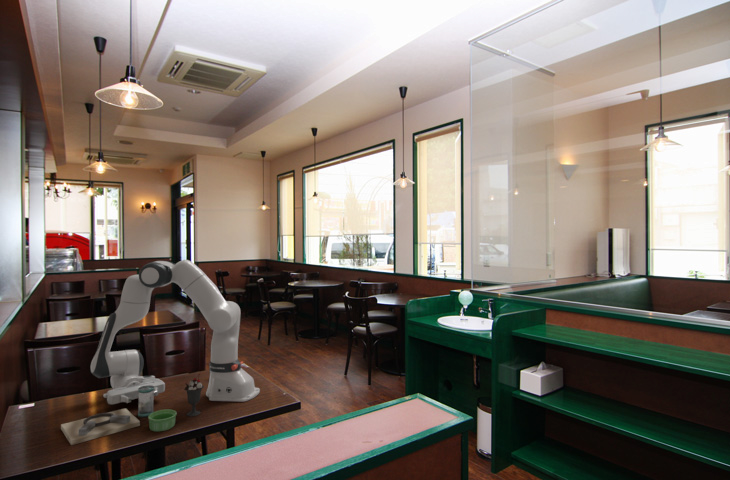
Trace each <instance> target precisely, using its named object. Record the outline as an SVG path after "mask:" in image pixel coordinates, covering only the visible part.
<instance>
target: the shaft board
mask: <svg viewBox="0 0 730 480" xmlns="http://www.w3.org/2000/svg"><path fill="white" fill-rule="evenodd" d="M140 426H141V421H140V420H139V419H138V418H137V417H136V416H134V414H132V413H131V411H129V410H128V408H121V409H117V410H112V411H109V412H101V413H97V414H92V415H89V416H88V417H85V418H81V419H77V420H73V421H69V422H66V423H62V424H60V430H61V431H62V433H63V434H64V436H65V438H66V440H67V441H68V442H69V444H70V446H75V445H77V444H81V443H85V442H87V441H91V440H94V439H99V438H102V437H105V436H109V435H113V434H115V433H119V432H122V431H126V430H130V429H133V428H136V427H140Z"/></svg>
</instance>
